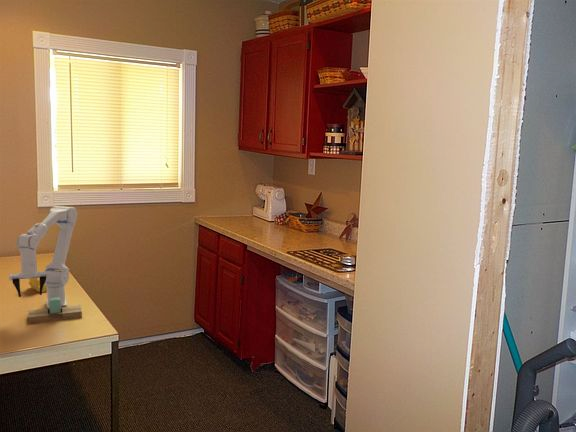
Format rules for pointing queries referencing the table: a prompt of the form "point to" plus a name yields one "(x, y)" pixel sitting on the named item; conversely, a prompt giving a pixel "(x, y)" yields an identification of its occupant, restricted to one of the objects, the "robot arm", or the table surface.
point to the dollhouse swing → (36, 284)
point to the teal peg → (55, 305)
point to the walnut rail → (54, 314)
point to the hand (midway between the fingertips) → (30, 295)
